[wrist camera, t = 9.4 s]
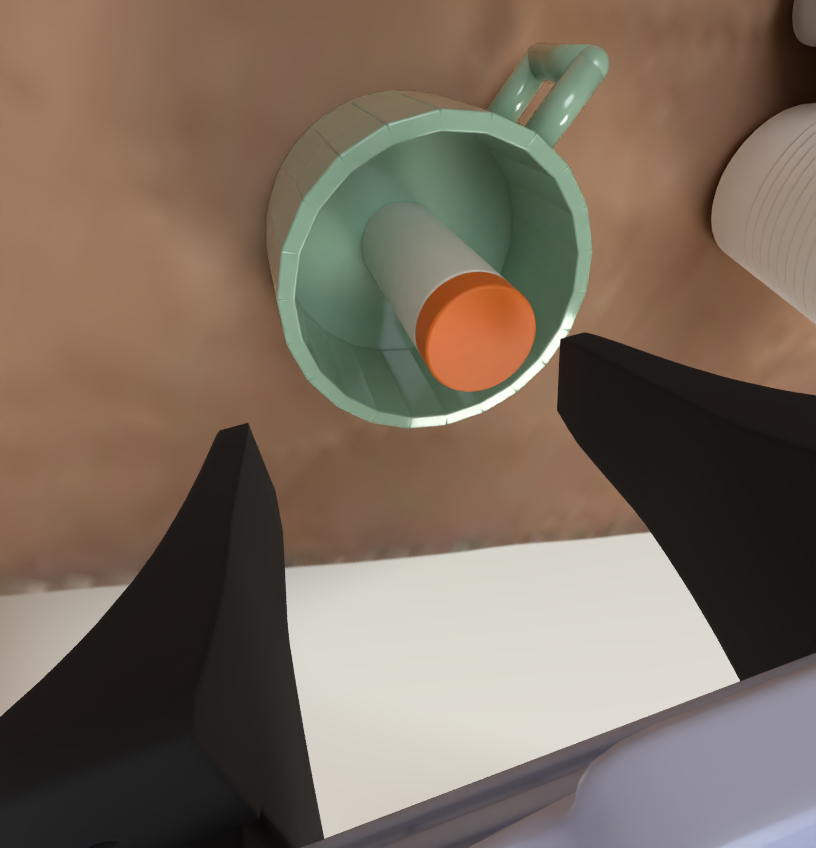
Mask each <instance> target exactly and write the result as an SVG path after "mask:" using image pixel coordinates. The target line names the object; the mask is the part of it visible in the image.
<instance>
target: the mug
mask: <svg viewBox="0 0 816 848" xmlns="http://www.w3.org/2000/svg"><path fill="white" fill-rule="evenodd" d="M609 66H610V62H609V57H608V54H607V52H606V51H605V50H604V49H603V48H602V47H600V46H596V45H580V44H561V43H536V44H534V45H532V46H531V47H530V48H529V49H528V50H527V51H526V53H525V54H524V56H523V57H522V59H521V60H520V62H519V63H518V65H517V66H516V67H515V69H514V70H513V72H512V73H511V75H510V76H509V78H508V79H507V81H506V82H505V84H504V85H503V86H502V88H501V89H500V91H499V92H498V94H497V95H496V97H495V98H494V100H493V101H492V103H491V104H490V105H489V107H488V108H487V110H484V109H481V108H478V107H475V106H472V105H469V104H465V103H462V102H459V101H456V100H453V99H450V98H447V97H443V96H440V95H437V94H433V93H423V92H418V91H409V90H390V91H381V92H375V93H371V94H368V95H364V96H360V97H357V98H355V99H353V100H351V101H348V102H346V103H344V104H341V105H340V106H338V107H336V108H335V109H333V110H332V111H330V112H328V113H327V114H325V115H324V116H323V117H321V118H320V119H319V120H318V121H317V122H316V123H314V124H313V125H312V126H311V127H310V128H309V129H308V130H307V131H306V132H305V133H304V134H303V135H302V137H301V138H300V139H299V140H298V141H297V142H296V143H295V145H294V146H293V148H292V149H291V151H290V152H289V154H288V155H287V157H286V159H285V160H284V162H283V164H282V166H281V168H280V171H279V173H278V175H277V177H276V179H275V183H274V186H273V189H272V192H271V195H270V199H269V205H268V210H267V219H266V249H267V254H268V259H269V265H270V270H271V275H272V280H273V285H274V290H275V295H276V300H277V305H278V310H279V314H280V319H281V324H282V328H283V333H284V338H285V342H286V344H287V347H288V348H289V350H290V352H291V354H292V355H293V357H294V359H295V360H296V362H297V364H298V366H299V367H300V369H301V371H302V372H303V374H304V376H305V378H306V379H307V380H308V382H310V383H311V384H312V385H313V386H314V387H315V388H316V389H317V390H318V391H320V392H321V393H322V394H323V395H324V396H325V397H326V398H327V399H329V400H330V401H331V402H332V403H333V404H334V405H335V406H337V407H338V408H340V409H343V410H345V411H347V412H349V413H351V414H353V415H356V416H358V417H360V418H362V419H364V420H366V421H369V422H372V423H376V424H382V425H389V426H395V427H401V428H421V427H432V426H442V425H446V424H447V425H448V424H451V423H454V422H457V421H460V420H463V419H466V418H469V417H472V416H475V415H478V414H481V413H482V412H485V411H487V410H489V409H490V408H492V407H494V406H495V405H497V404H499V403H500V402H502V401H504V400H505V399H507V398H509V397H510V396H512V395H514V394H515V393H516V392H518V391H519V390H520V389H521V388H522V387H523V386H524V385H525V384H527V383H528V382H529V381H530V380H531V379H532V378H533V377H534V376H535V375H536V374H537V373H538V372H539V371H540V370H542V369H543V368H544V367H545V366H546V364H547V363H548V362H549V361H550V359H551V358H552V356H553V355H554V353H555V352H556V351H557V349H558V348H559V346H560V339H562V338H565V337H566V336H567V335H568V333H569V332H570V331H569V330H571V328H572V325H573V323H574V321H575V318H576V316H577V313H578V311H579V308H580V306H581V303H582V301H583V299H584V296H585V294H586V292H585V291H586V290H587V284H588V277H589V270H590V264H591V257H592V240H591V232H590V224H589V216H588V208H587V206H586V202H585V200H584V197H583V195H582V193H581V191H580V189H579V187H578V184H577V182H576V180H575V178H574V176H573V174H572V171H571V169H570V167H569V166H568V165H567V163H566V162H565V161H564V160H563V159H562V158H561V157H560V156H559V155H558V154H557V153H556V152H555V151H554V150H553V148H554V146H555V145H556V144H557V142H558V141H559V140H560V138H561V137H562V136H563V134H564V133H565V131H566V130H567V129H568V127H569V126H570V125H571V123H572V122H573V121H574V119H575V118H576V117H577V115H578V114H579V113H580V111H581V110H582V109H583V107H584V106H585V105H586V103H587V102H588V101H589V99H590V98H591V97H592V95H593V94H594V93H595V91H596V90H597V89H598V87H599V86H600V85H601V83H602V82H603V81H604V79H605V78H606V76H607V74H608V71H609ZM544 82H545V83H550V84H555V85H554V86H553V88H552V89H551V90H550V92H549V93H548V95H547V96H546V97H545V99H544V100H543V102H542V103H541V104H540V106H539V107H538V109H537V110H536V111H535V113H534V114H533V115H532V117H531V118H530V120H529V121H528V122H527V124H526V125H525V127H524V126H522V125H520V124H518V123H516V122H517V120H518V119H519V118H520V116H521V115H522V113H523V112H524V111H525V109H526V108H527V106H528V105H529V103H530V102H531V101H532V99H533V98H534V96H535V95H536V94H537V92H538V91H539V89H540V88H541V87H542V85H543V84H544ZM401 201H408V202H414V203H417V204H419V205H421V206H423V207H425V208H426V209H427V210H429V211H430V212H431V213H432V214H433V215H434V216H435V217H436V218H438V219H439V220H440V221H441V222H442V223H443V224H444V225H445V226H446V227H448V228H449V229H450V230H451V231H452V232H453V233H454V234H455V235H456V236H458V237H459V238H460V239H461V240H462V241H463V242H464V243H465V244H467V245H468V246H469V247H470V248H471V249H472V250H473V251H474V252H475V253H477V254H478V255H479V256H480V257H481V258H482V259H483V260H484V261H485V262H487V263H488V264H489V265H490V266H491V267H492V268H493V269H494V270H496V271H497V272H498V273H499V274H500V275H501V276H502V277H503V278H504V279H506V280H507V281H508V282H509V283H510V284H511V285H512V286H513V287H514V288H516V289H517V290H518V291H519V292H520V293H521V294H522V295H523V296H525V298H526V299H527V300H528V301H529V303H530V305H531V307H532V309H533V312H534V316H535V321H536V332H535V339H534V343H533V345H532V348H531V350H530V353H529V355H528V356H527V358H526V359H525V361H524V362H523V364H522V365H521V366H520V367H519V368H518V370H517V371H516V372H515V373H513V374H512V375H511V376H510V377H509V378H507V379H506V380H504V381H503V382H501V383H499V384H498V385H495V386H493V387H491V388H488V389H485V390H480V391H473V392H464V391H458V390H454V389H451V388H449V387H447V386H445V385H443V384H442V383H440V382H439V381H438V380H437V379H436V378H435V377H434V376H433V375H432V374H431V372H430V370H429V369H428V367H427V365H426V364H425V362H424V360H423V359H422V357H421V355H420V354H419V352H418V350H417V349H416V347H415V345H414V344H413V342H412V340H411V339H410V337H409V335H408V334H407V332H406V330H405V329H404V327H403V325H402V324H401V322H400V320H399V319H398V317H397V315H396V314H395V312H394V310H393V309H392V307H391V305H390V304H389V302H388V300H387V299H386V297H385V295H384V294H383V292H382V290H381V289H380V287H379V285H378V284H377V282H376V280H375V279H374V277H373V275H372V274H371V272H370V270H369V269H368V267H367V265H366V263H365V261H364V258H363V254H362V237H363V233H364V230H365V228H366V226H367V224H368V222H369V221H370V219H371V218H372V217H373V216H374V215H375V214H376V213H377V212H378V211H379V210H380V209H382V208H383V207H385V206H387V205H389V204H392V203H395V202H401Z"/></svg>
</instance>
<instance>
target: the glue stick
mask: <svg viewBox="0 0 816 848" xmlns="http://www.w3.org/2000/svg"><path fill="white" fill-rule="evenodd" d="M362 254H363V258H364V261H365V263H366V265H367V267H368V269H369V270H370V272H371V274H372V275H373V277H374V279H375V280H376V282H377V284H378V285H379V287H380V289H381V290H382V292H383V294H384V295H385V297H386V299H387V300H388V302H389V304H390V305H391V307H392V309H393V310H394V312H395V314H396V315H397V317H398V319H399V320H400V322H401V324H402V325H403V327H404V329H405V330H406V332H407V334H408V335H409V337H410V339H411V340H412V342H413V344H414V345H415V347H416V349H417V350H418V352H419V354H420V355H421V357H422V359H423V360H424V362H425V364H426V365H427V367H428V369H429V370H430V372H431V374H432V375H433V376H434V377H435V378H436V379H437V380H438V381H439V382H440V383H442V384H443V385H445V386H447V387H449V388H451V389H454V390H458V391H464V392H473V391H480V390H485V389H488V388H491V387H493V386H495V385H498V384H499V383H501V382H503V381H504V380H506V379H507V378H509V377H510V376H511V375H512V374H513V373H515V372H516V371H517V370H518V368H519V367H520V366H521V365H522V364H523V362H524V361H525V359H526V358H527V356H528V355H529V353H530V350H531V348H532V345H533V343H534V339H535V332H536V321H535V316H534V312H533V309H532V307H531V305H530V303H529V301H528V300H527V299H526V298H525V296H523V295H522V294H521V293H520V292H519V291H518V290H517V289H516V288H514V287H513V286H512V285H511V284H510V283H509V282H508V281H507V280H506V279H504V278H503V277H502V276H501V275H500V274H499V273H498V272H497V271H496V270H494V269H493V268H492V267H491V266H490V265H489V264H488V263H487V262H485V261H484V260H483V259H482V258H481V257H480V256H479V255H478V254H477V253H475V252H474V251H473V250H472V249H471V248H470V247H469V246H468V245H467V244H465V243H464V242H463V241H462V240H461V239H460V238H459V237H458V236H456V235H455V234H454V233H453V232H452V231H451V230H450V229H449V228H448V227H446V226H445V225H444V224H443V223H442V222H441V221H440V220H439V219H438V218H436V217H435V216H434V215H433V214H432V213H431V212H430V211H429V210H427V209H426V208H425V207H423V206H421V205H419V204H417V203H414V202H408V201H401V202H395V203H392V204H389V205H387V206H385V207H383V208H382V209H380V210H379V211H378V212H377V213H376V214H375V215H374V216H373V217H372V218H371V219H370V221H369V222H368V224H367V226H366V228H365V230H364V233H363V237H362Z"/></svg>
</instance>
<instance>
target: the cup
mask: <svg viewBox="0 0 816 848" xmlns="http://www.w3.org/2000/svg"><path fill="white" fill-rule="evenodd" d="M711 224H712V232H713V235H714V238H715V241H716V243H717V244H718V246H719V247H720V249H721V250H722V251H723V252H724V253H726V254H727V255H728V256H729V257H731V258H732V259H733V260H734V261H736V262H737V263H738V264H740V265H741V266H742V267H743V268H745V269H746V270H747V271H748V272H750V273H751V274H752V275H754V276H755V277H756V278H758V279H759V280H760V281H761V282H763V283H764V284H765V285H766V286H768V287H769V288H770V289H771V290H773V291H774V292H775V293H777V294H778V295H779V296H780V297H782V298H783V299H784V300H786V301H787V302H788V303H789V304H791V305H792V306H793V307H794V308H796V309H797V310H798V311H799V312H801V313H802V314H803V315H805V316H806V317H807V318H808V319H810V320H811V321H812V322H814V323H815V324H816V103H810V104H801V105H797V106H794V107H792V108H789V109H786V110H784V111H782V112H780V113H779V114H777V115H775V116H773V117H772V118H770V119H769V120H768V121H766V122H765V123H764V124H763V125H761V126H760V127H759V128H758V129H756V130H755V131H754V132H753V133H752V134H751V136H750V137H749V138H748V139H747V140H746V141H745V142H744V143H743V144H742V145H741V147H740V148H739V149H738V151H737V152H736V153H735V155H734V156H733V157H732V159H731V160H730V162H729V164H728V165H727V167H726V169H725V170H724V172H723V174H722V177H721V179H720V181H719V184H718V186H717V189H716V193H715V197H714V201H713V205H712V214H711Z"/></svg>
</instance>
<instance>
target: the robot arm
mask: <svg viewBox="0 0 816 848" xmlns="http://www.w3.org/2000/svg"><path fill="white" fill-rule="evenodd" d="M557 411H558V412H559V414H560V416H561V418H562V419H563V421H564V423H565V424H566V426H567V428H568V429H569V431H570V432H571V434H572V435H573V437H574V439H575V440H576V442H577V443H578V444H579V446H580V447H581V448H582V449H583V450H584V452H585V453H586V454H587V455H588V456H589V458H590V459H591V460H592V461H593V462H594V464H595V465H596V466H597V467H598V468H599V470H600V471H601V472H602V473H603V474H604V475H605V476H606V478H607V479H608V480H609V481H610V482H611V483H612V485H613V486H614V487H615V488H616V489H617V490H618V492H619V493H620V494H621V495H622V496H623V497H624V499H625V500H626V501H627V502H628V503H629V504H630V506H631V507H632V508H633V509H634V510H635V512H636V513H637V514H638V516H639V517H640V518H641V519H642V521H643V522H644V523H645V524H646V526H647V527H648V529H649V530H650V532H651V533H652V534H653V536H654V538H655V539H656V541H657V542H658V544H659V545H660V546H661V548H662V549H663V551H664V552H665V554H666V555H667V557H668V558H669V560H670V561H671V563H672V565H673V566H674V568H675V569H676V571H677V572H678V574H679V576H680V577H681V578H682V580H683V582H684V583H685V585H686V587H687V588H688V590H689V591H690V593H691V594H692V596H693V598H694V600H695V601H696V603H697V605H698V606H699V608H700V609H701V611H702V613H703V615H704V616H705V618H706V620H707V622H708V623H709V625H710V627H711V628H712V630H713V632H714V634H715V635H716V637H717V639H718V641H719V642H720V644H721V646H722V648H723V650H724V652H725V654H726V655H727V657H728V659H729V661H730V663H731V665H732V666H733V668H734V670H735V672H736V674H737V676H738V678H739V679H740V682H737V683H735V684H732V685H730V686H727V687H724V688H722V689H719V690H716V691H714V692H711V693H708V694H706V695H703V696H700V697H698V698H695V699H693V700H690V701H687V702H685V703H682V704H679V705H677V706H674V707H671V708H669V709H666V710H663V711H661V712H658V713H656V714H653V715H650V716H648V717H645V718H642V719H640V720H637V721H635V722H632V723H629V724H626V725H624V726H621V727H619V728H616V729H613V730H611V731H608V732H606V733H603V734H600V735H598V736H595V737H592V738H590V739H587V740H584V741H582V742H579V743H576V744H574V745H571V746H569V747H566V748H563V749H561V750H558V751H555V752H553V753H550V754H548V755H545V756H542V757H539V758H537V759H534V760H531V761H529V762H526V763H524V764H521V765H518V766H516V767H513V768H510V769H508V770H505V771H502V772H500V773H497V774H495V775H492V776H490V777H487V778H484V779H482V780H479V781H476V782H473V783H471V784H468V785H466V786H463V787H460V788H458V789H455V790H452V791H450V792H447V793H444V794H442V795H439V796H437V797H434V798H431V799H429V800H426V801H423V802H421V803H418V804H415V805H413V806H410V807H408V808H405V809H402V810H400V811H397V812H395V813H392V814H389V815H387V816H384V817H381V818H378V819H376V820H373V821H371V822H368V823H365V824H363V825H360V826H358V827H355V828H352V829H350V830H347V831H344V832H341V833H339V834H336V835H334V836H331V837H328V838H326V839H324V836H323V830H322V826H321V820H320V815H319V809H318V804H317V799H316V794H315V789H314V784H313V778H312V773H311V767H310V763H309V756H308V751H307V745H306V740H305V734H304V729H303V723H302V717H301V711H300V705H299V699H298V693H297V687H296V681H295V675H294V668H293V662H292V655H291V649H290V643H289V633H288V623H287V605H286V584H285V563H284V545H283V530H282V524H281V518H280V513H279V507H278V502H277V497H276V492H275V489H274V486H273V484H272V481H271V479H270V476H269V474H268V471H267V469H266V466H265V464H264V461H263V459H262V456H261V454H260V451H259V449H258V446H257V444H256V441H255V439H254V436H253V434H252V431H251V429H250V426H249V424H248V423H246V424H242V425H238V426H235V427H231V428H227V429H224V430H220V431H219V432H218V434H217V435H216V437H215V439H214V442H213V444H212V446H211V448H210V451H209V453H208V455H207V457H206V459H205V462H204V464H203V466H202V468H201V470H200V472H199V474H198V476H197V478H196V480H195V482H194V484H193V486H192V488H191V490H190V492H189V494H188V496H187V498H186V500H185V502H184V503H183V505H182V507H181V509H180V510H179V512H178V514H177V516H176V517H175V519H174V521H173V522H172V524H171V526H170V527H169V529H168V531H167V532H166V534H165V536H164V537H163V539H162V541H161V542H160V544H159V545H158V547H157V548H156V550H155V551H154V553H153V554H152V556H151V557H150V558H149V560H148V561H147V563H146V564H145V565H144V567H143V568H142V569H141V571H140V572H139V574H138V575H137V576H136V577H135V579H134V580H133V581H132V583H131V584H130V585H129V586H128V587H127V589H126V590H125V591H124V592H123V593H122V594H121V596H120V597H119V598H118V599H117V600H116V602H115V603H114V604H113V605H112V606H111V608H110V609H109V610H108V611H107V612H106V613H105V615H104V616H103V617H102V618H101V619H100V620H99V622H98V623H97V624H96V625H95V626H94V627H93V628H92V629H91V630H90V631H89V633H87V635H86V636H85V637H84V638H83V639H82V640H81V641H80V642H79V643H78V644H77V645H76V646H75V647H74V648H73V649H72V650H71V651H70V652H69V653H68V654H67V655H66V656H65V657H64V658H63V659H62V660H61V661H60V662H59V663H58V664H57V665H56V666H55V667H54V668H53V669H52V670H51V671H50V672H49V673H48V674H47V675H46V676H45V677H44V678H43V679H42V680H41V681H40V682H39V683H37V684H36V685H35V686H34V687H33V688H32V689H31V690H30V691H28V692H27V693H26V694H25V695H24V696H23V697H22V698H21V699H20V700H18V701H17V702H16V703H15V704H14V705H13V706H12V707H11V708H10V709H8V710H7V711H6V712H5V713H4V714H3V715H2V716H1V717H0V848H816V395H809V394H803V393H796V392H790V391H785V390H779V389H774V388H770V387H765V386H761V385H756V384H751V383H747V382H742V381H738V380H734V379H730V378H726V377H723V376H719V375H716V374H712V373H709V372H705V371H702V370H698V369H695V368H692V367H688V366H685V365H682V364H679V363H676V362H673V361H670V360H667V359H664V358H661V357H658V356H655V355H652V354H649V353H647V352H644V351H641V350H638V349H635V348H632V347H630V346H627V345H624V344H621V343H618V342H615V341H612V340H609V339H606V338H603V337H600V336H597V335H593V334H589V333H585V332H584V333H580V334H577V335H573V336H569V337H565V338H562V339H560V358H559V380H558V402H557Z"/></svg>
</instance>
